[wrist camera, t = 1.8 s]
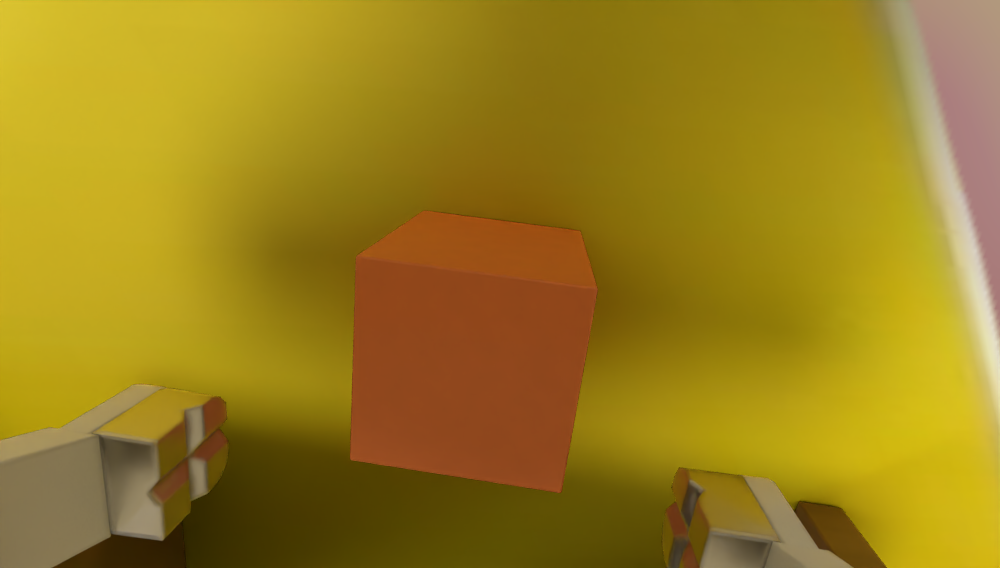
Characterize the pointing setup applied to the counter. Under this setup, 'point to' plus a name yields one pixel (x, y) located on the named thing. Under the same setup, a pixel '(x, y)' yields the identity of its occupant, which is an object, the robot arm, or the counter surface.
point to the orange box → (471, 348)
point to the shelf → (161, 564)
